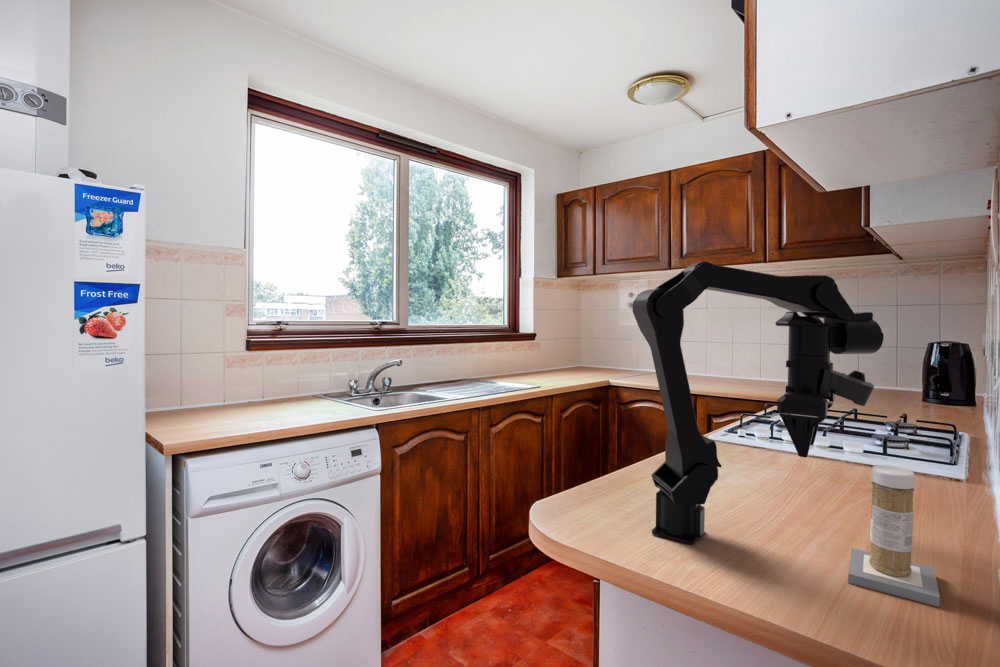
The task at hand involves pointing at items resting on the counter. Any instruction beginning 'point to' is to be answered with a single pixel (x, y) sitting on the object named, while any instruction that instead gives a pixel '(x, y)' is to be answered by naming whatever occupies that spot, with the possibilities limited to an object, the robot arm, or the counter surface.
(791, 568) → the counter surface
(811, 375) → the robot arm
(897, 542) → the sprinkles bottle
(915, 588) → the tile
